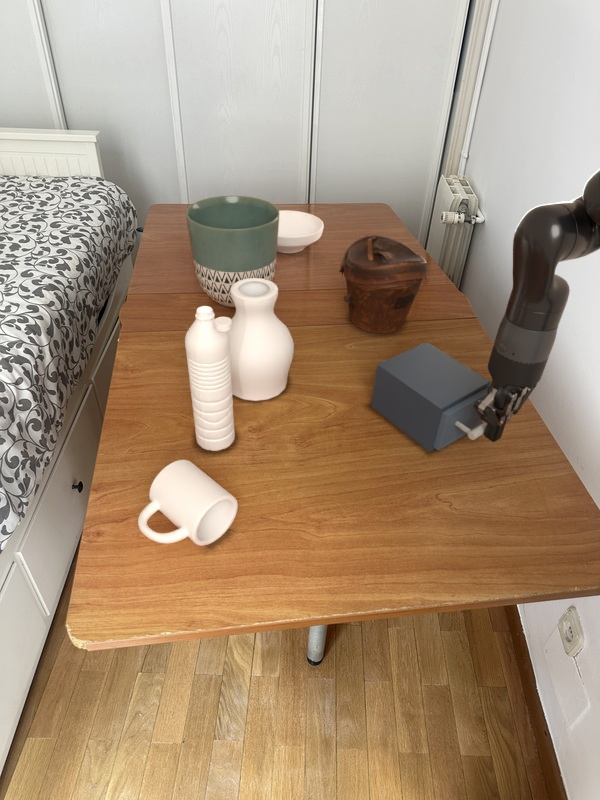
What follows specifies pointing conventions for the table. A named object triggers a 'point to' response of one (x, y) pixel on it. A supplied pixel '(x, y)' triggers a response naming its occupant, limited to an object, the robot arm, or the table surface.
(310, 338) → the table surface
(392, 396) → the cabinet
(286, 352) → the vase
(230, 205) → the planter
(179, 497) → the mug
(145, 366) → the table surface
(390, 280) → the case
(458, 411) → the drawer
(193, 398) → the water bottle
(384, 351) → the table surface
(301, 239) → the bowl
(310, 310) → the table surface
